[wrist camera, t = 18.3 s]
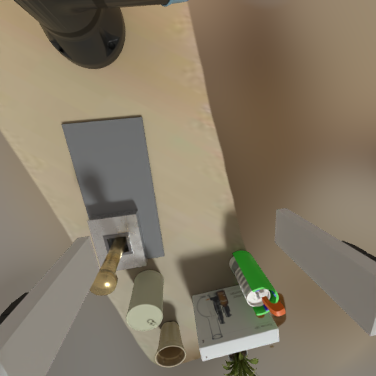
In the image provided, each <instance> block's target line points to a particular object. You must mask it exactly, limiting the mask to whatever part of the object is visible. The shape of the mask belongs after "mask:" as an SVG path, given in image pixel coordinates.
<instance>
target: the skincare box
mask: <svg viewBox="0 0 376 376" xmlns="http://www.w3.org/2000/svg"><path fill="white" fill-rule="evenodd" d="M192 300H193V307H194V315H195V322H196V329H197V336H198V343H199V349H200V354H201V358H202V361H205V360H209V359H213V358H216V357H221V356H224V355H229V354H233V353H236V352H240V351H244V350H248V349H252V348H256V347H260V346H264V345H268V344H272V343H275V342H279V329H278V327H277V325H276V324H275V322H274V320H273V318H272V317H271V315H270V313H269V312H268V313H266V314H263V315H257V316H256V313H255V311H254V309H253V307H252V306H250V305H249V304H248V303H247V301H246V298H245V296H244V294H243V292H242V290H241V288H240V285H236V286H232V287H227V288H223V289H219V290H215V291H210V292H206V293H202V294H198V295H194V296H192Z"/></svg>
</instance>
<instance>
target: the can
mask: <svg viewBox="0 0 376 376" xmlns="http://www.w3.org/2000/svg"><path fill="white" fill-rule="evenodd" d="M163 285H164V279H163V276H162V275H161V274H160V273H159V272H157V271H154V270H146V271H143V272H141V273H139V274H138V275H137V276H136V278H135V280H134V287H133V291H132V296H131V300H130V304H129V309H128V313H127V316H126V321H127V324H128V325H129V326H130V327H131V328H132V329H134V330H138V331H149V330H152V329H154V328H156V327H157V326H158V325H159V324H160V323H161V321H162V319H163Z"/></svg>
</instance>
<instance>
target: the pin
mask: <svg viewBox="0 0 376 376" xmlns="http://www.w3.org/2000/svg"><path fill="white" fill-rule="evenodd" d="M126 242H127V240H126V236H123V237H116V238H115V240H114V242H113V244H112V246H111V248H110V250H109V252H108V254H107V256H106V258H105V260H104V262H103V264H102V266H101V268H100V270H99V272H98V274H97V276H96V278H95V280H94V282H93V284H92V286H91V288H90V291H91V292H92V293H94V294H96V295H101V296H102V295H108V294H110V293H112V292H113V291H114V290H115V288H116V285H117V281H118V278H117V276H116V274H115V272H116V270H117V267H118V264H119V261H120V259H121V256H122V253H123V250H124V248H125V245H126Z"/></svg>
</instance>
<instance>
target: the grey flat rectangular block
mask: <svg viewBox="0 0 376 376" xmlns="http://www.w3.org/2000/svg"><path fill="white" fill-rule="evenodd" d="M87 222H88V225H89V229H90V232H91V235H92V239H93V242H94V246H95V249H96V252H97V256H98V259H99V262H100V266H102V264H103V262H104V260H105V258H106V256H107V254H108V252H109V250H110V248H111V246H112V244H113V239H112V238H116V237H123V236H126V240H127V244H128V245H125V248H124V250H123V253H122V256H121V259H120V261H119V264H118V267H117V270H124V269H130V268H136V267H143V266H146V265H147V259H148V258H147V253H146V248H145V243H144V238H143V233H142V228H141V223H140V218H139V213H138V210H131V211H124V212H116V213H109V214H101V215H93V216H91V217H90V218H89V220H88V221H87ZM117 270H116V271H117Z"/></svg>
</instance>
